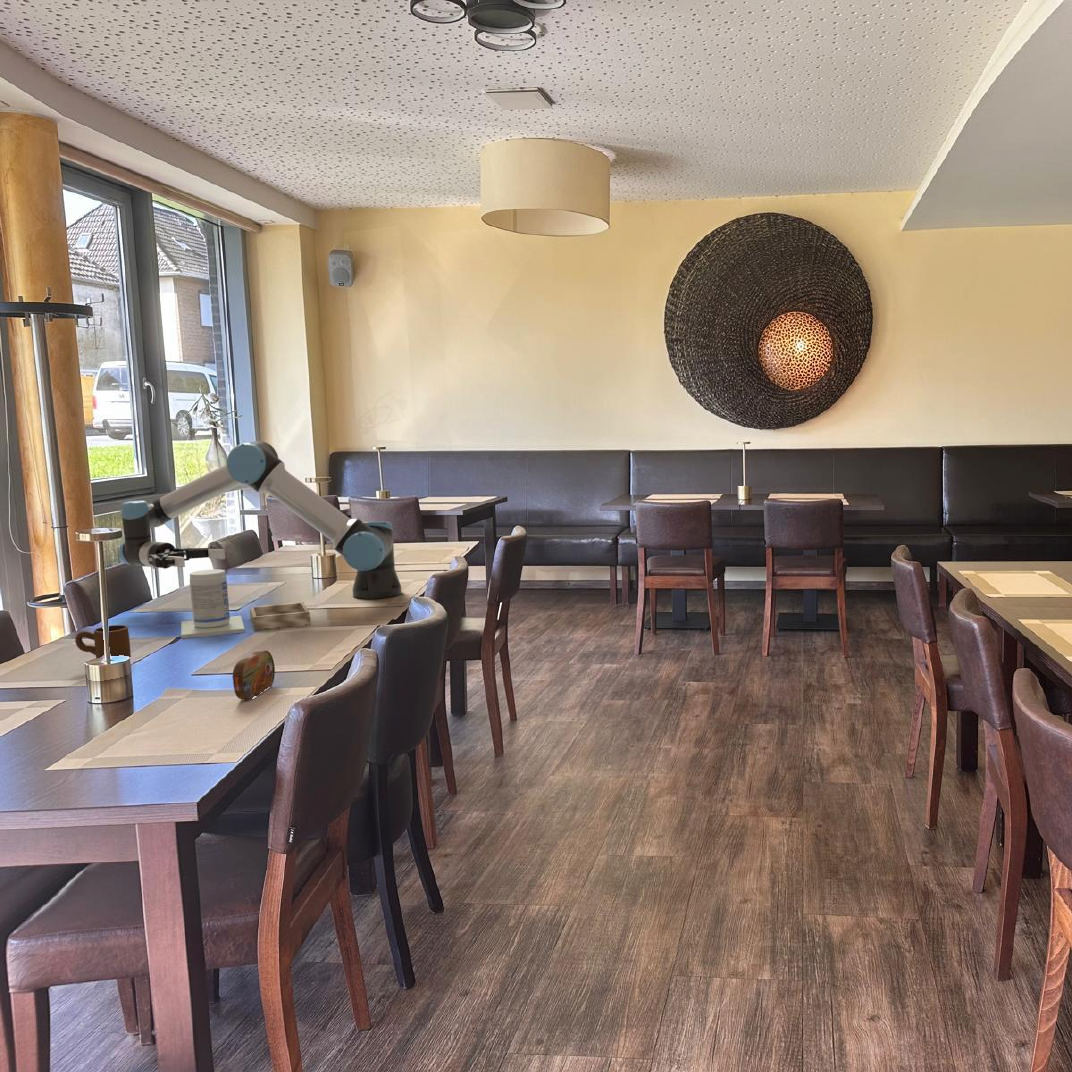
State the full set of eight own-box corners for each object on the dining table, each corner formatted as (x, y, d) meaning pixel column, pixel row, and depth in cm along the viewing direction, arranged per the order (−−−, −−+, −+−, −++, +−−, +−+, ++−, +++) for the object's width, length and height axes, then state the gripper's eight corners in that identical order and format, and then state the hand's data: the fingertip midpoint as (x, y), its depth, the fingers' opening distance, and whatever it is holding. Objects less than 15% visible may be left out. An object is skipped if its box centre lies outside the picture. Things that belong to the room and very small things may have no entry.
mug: (72, 674, 237) (69, 634, 236) (83, 665, 244) (79, 627, 243) (126, 670, 238) (123, 631, 237) (135, 662, 246) (132, 623, 244)
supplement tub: (234, 625, 279) (230, 571, 277) (199, 630, 273) (194, 576, 271) (223, 619, 287) (219, 567, 285) (189, 624, 281) (185, 571, 279)
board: (241, 619, 291) (241, 615, 291) (244, 632, 274) (244, 628, 274) (181, 624, 286) (181, 621, 286) (181, 638, 269) (181, 634, 269)
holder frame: (304, 614, 295) (303, 602, 295) (310, 624, 281) (309, 611, 281) (250, 619, 290) (249, 607, 290) (253, 630, 276) (252, 617, 276)
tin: (246, 704, 208) (243, 664, 207) (231, 704, 209) (228, 664, 207) (277, 684, 223) (274, 646, 222) (263, 683, 223) (260, 646, 222)
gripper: (196, 560, 312) (241, 564, 300) (121, 574, 292) (167, 579, 279) (193, 536, 311) (238, 538, 298) (119, 548, 291) (164, 551, 278)
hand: (204, 558), depth 289 cm, fingers open, 13 cm apart
